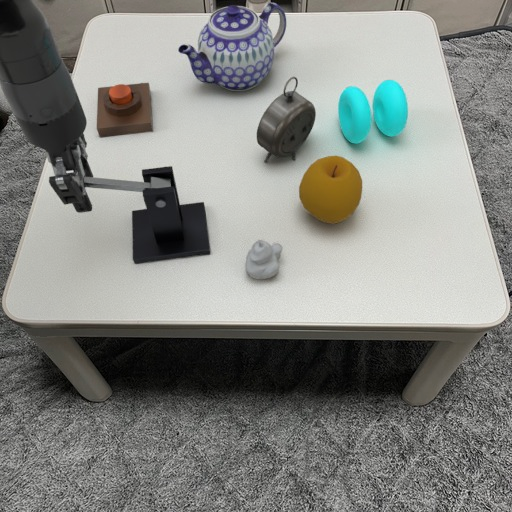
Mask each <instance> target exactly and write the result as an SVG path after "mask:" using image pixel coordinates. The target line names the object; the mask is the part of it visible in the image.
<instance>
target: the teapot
mask: <svg viewBox="0 0 512 512" xmlns="http://www.w3.org/2000/svg"><path fill="white" fill-rule="evenodd" d="M275 10H276V11H277V14H278V17H279V25H278V29H277V31H276V34H275V35H274V37H273V33H272V30H271V28H270V26H269V25H268V24H269V19H270V16H271V14H272V12H274V11H275ZM286 29H287V15H286V13H285V11H284V9H283V8H282V7H281V5H279V4H277V3H276V2H269V3H267V5H266V6H265V7H264V8H263V10H262V11H261V14H258V13H257V12H256V11H254V10H253V9H252V8H249V7H246V6H242V5H237V4H231V5H228V6H224V7H221V8H219V9H216V10H215V11H213V12H211V14H210V15H209V18H208V21H207V23H205V24H204V26H203V27H202V28H201V30H200V31H199V35H198V40H197V50H196V47H193V46H192V45H191V44H190V43H184V44H181V45H180V46H178V49H177V50H178V53H179V54H181V55H182V54H183V55H186V56H187V58H188V61H189V64H190V68H191V71H192V73H193V75H194V77H195V78H196V80H197V81H199V82H200V83H203V84H208V85H209V84H211V85H212V84H213V85H214V84H215V85H218V86H219V87H221V88H223V89H224V90H228V91H231V92H246V91H248V90H251V89H254V88H255V87H256V86H258V85H259V84H260V83H261V82H262V80H264V79H265V78H266V77H267V75H269V73H270V71H271V68H272V66H273V62H274V57H275V48H276V47H277V46H278V45H279V44H280V43H281V41H282V40H283V38H284V37H285V36H284V35H285V33H286Z"/></svg>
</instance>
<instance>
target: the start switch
mask: <svg viewBox="0 0 512 512" xmlns="http://www.w3.org/2000/svg"><path fill="white" fill-rule="evenodd" d="M126 85H127V86H129V87H130V89H131V93H132V100H131V101H130V102H129V103H127V104H124V105H116V104H114V103H112V101H111V98H110V94H109V90H110V89H111V88H112V87H113V86H114V85H113V86H112V85H111V86H110V85H109V86H103V87H102V86H101V87H97V104H96V105H97V107H96V130H97V133H98V137H99V138H105V137H115V136H123V135H132V134H134V135H135V134H140V133H141V134H142V133H150V132H151V133H152V132H153V131H154V130H153V129H154V128H153V111H152V109H153V108H152V91H151V88H150V83H149V82H141V83H129V84H126Z"/></svg>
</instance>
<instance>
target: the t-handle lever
mask: <svg viewBox="0 0 512 512" xmlns="http://www.w3.org/2000/svg"><path fill="white" fill-rule="evenodd" d="M82 166H83V165H82ZM83 169H84V173H85V175H84V178H83V183H84V187H85V188H89V189H90V188H91V189H99V190H100V189H103V190H113V191H124V192H125V191H126V192H135V193H143V190H147V189H155V188H163V187H171V183H170V179H169V178H158V177H151V179H150V183H147V182H144V181H137V180H127V179H126V180H125V179H114V178H105V177H104V178H102V177H94V176H93V177H86V168H85V166H83ZM75 172H78V171H77V168H76V169H75ZM75 182H76V181H75ZM76 184H77V186H78V183H77V182H76Z"/></svg>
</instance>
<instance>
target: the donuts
mask: <svg viewBox="0 0 512 512" xmlns="http://www.w3.org/2000/svg"><path fill="white" fill-rule="evenodd" d="M373 94H374V95H373V96H372V97H373V98H372V112H371V105H370V102H369V99H368V97H367V95H366V94H365V92H364V91H363V90H362V89H361V88H359V87H357V86H352V85H351V86H348V87H345V88H344V89H343V90H342V91H341V93H340V95H339V99H338V105H337V107H338V108H337V113H338V122H339V125H340V128H341V129H340V130H341V132H342V134H343V136H344V137H345V139H346V140H347V141H348V142H349V143H352V144H360V143H362V142H364V141H365V140H366V139H367V137H368V135H369V134H370V130H371V126H372V114H373V119H374V122H375V124H376V126H377V128H378V130H379V131H380V132H381V133H382V134H383V135H385V136H387V137H392V138H393V137H396V136H399V135H400V134H401V133H402V132H403V131H404V129H405V128H406V125H407V121H408V115H409V107H408V99H407V96H406V92H405V90H404V88H403V87H402V85H401V84H400V83H399V82H398V81H396V80H394V79H386V80H383V81H382V82H380V83H379V84H378V86H377V87H376V89H375V91H374V93H373Z"/></svg>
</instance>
